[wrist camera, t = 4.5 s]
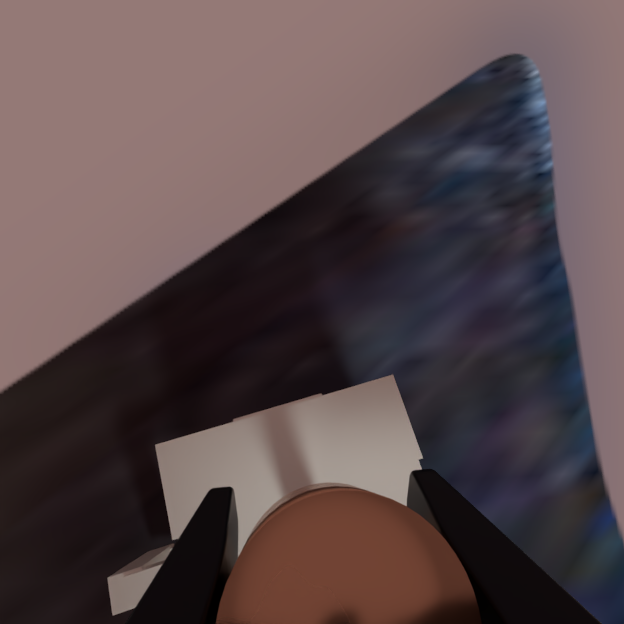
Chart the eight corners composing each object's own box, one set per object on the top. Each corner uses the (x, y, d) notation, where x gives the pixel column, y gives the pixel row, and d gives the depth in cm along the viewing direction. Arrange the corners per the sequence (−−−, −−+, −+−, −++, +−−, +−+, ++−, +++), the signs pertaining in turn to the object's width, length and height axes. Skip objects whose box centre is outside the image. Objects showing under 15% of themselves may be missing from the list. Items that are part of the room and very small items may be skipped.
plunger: (419, 591, 14) (662, 826, 5) (247, 655, 13) (164, 1075, 4) (362, 419, 15) (468, 358, 6) (207, 466, 14) (85, 472, 6)
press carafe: (422, 580, 18) (488, 637, 12) (177, 670, 17) (118, 784, 11) (361, 395, 20) (392, 368, 14) (141, 461, 19) (77, 460, 13)
